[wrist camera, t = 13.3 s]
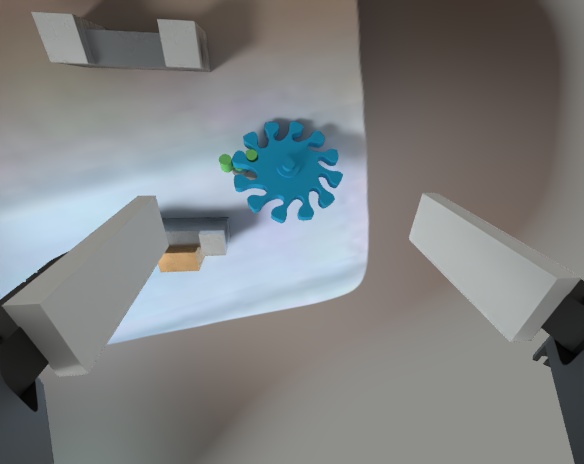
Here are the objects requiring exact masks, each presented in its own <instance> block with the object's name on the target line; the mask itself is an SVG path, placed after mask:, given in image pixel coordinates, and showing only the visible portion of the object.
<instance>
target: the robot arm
mask: <svg viewBox="0 0 584 464" xmlns="http://www.w3.org/2000/svg"><path fill="white" fill-rule="evenodd" d="M409 240H410V241H411V242H412V243H413V244H415V246H416V247H417V248H418V249H419V250H420V251H421V252H422V253H423V254H424V255H425V256H426V257H427V258H428V259H429V260H430V261H431V262H432V263H433V264H434V265H435V266H436V267H437V268H438V269H439V270H440V271H441V272H442V273H443V274H444V275H445V276H446V277H447V278H448V279H449V280H450V281H451V282H452V283H453V284H454V285H455V287H457V289H459V291H460V292H462V294H463V295H464V296H465V297H466V298H468V300H469V301H470V302H471V303H472V304H473V305H474V306H475V307H476V308H477V309H478V310H479V311H480V312H481V313H482V314H483V315H484V316H485V317H486V318H487V319H488V320H489V321H490V322H491V323H492V324H493V325H494V326H495V327H496V328H497V329H498V330H499V331H500V332H501V333H502V334H503V335H504V336H505V337H506V338H507V339H508V340H509V341H510V342H520V341H531V340H532V339H533V338H534V336H535V335H536V334H537V333H538V331H539V330H540V329H541V328H542V329H544V330H545V331H546V332H547V333H548V334H550V336H549V337H548V339H547V340H546V341H545V342H544V343H543V344H542V346H541V347H540V348H539V349H538V350H537V352H536V353H535V354H534V355H533V360H535V361H538V360H539V359H540V357H541V356H547V357H548V359H547V360H546V361H545V362H544V363H543V364H544V365H546V366H549V367H551V371H552V375H553V379H554V383H555V387H556V391H557V395H558V398H559V403H560V407H561V411H562V415H563V419H564V423H565V427H566V431H567V434H568V439H569V442H570V446H571V450H572V454H573V458H574V462H575V464H584V281H583V280H581V278H582V277H580V276H579V275H577V274H575V273H573V272H572V271H570V270H568V269H567V268H565V267H563V266H561V265H560V264H558V263H556V262H555V261H553V260H551V259H549V258H548V257H546V256H544V255H542V254H541V253H539V252H537V251H536V250H534V249H532V248H530V247H529V246H527V245H525V244H524V243H522V242H520V241H518V240H517V239H515V238H513V237H512V236H510V235H508V234H506V233H505V232H503V231H501V230H499V229H498V228H496V227H494V226H493V225H491V224H489V223H487V222H486V221H484V220H482V219H481V218H479V217H477V216H475V215H473V214H472V213H470V212H469V211H467V210H465V209H463V208H462V207H460V206H458V205H456V204H455V203H453V202H451V201H450V200H448V199H446V198H445V197H443V196H441V195H439V194H438V193H423V194H422V197H421V201H420V204H419V207H418V210H417V213H416V217H415V220H414V223H413V226H412V229H411V233H410V236H409ZM168 247H169V244H168V240H167V236H166V233H165V229H164V225H163V222H162V218H161V214H160V211H159V207H158V203H157V200H156V196H137V197H136V198H135V199H134V200H132V201H131V202H130V203H129V204H127V205H126V206H125V207H124V208H122V209H121V210H120V211H119V212H117V213H116V214H115V215H114V216H112V217H111V218H110V219H109V220H108V221H106V222H105V223H104V224H103V225H101V226H100V227H99V228H98V229H96V230H95V231H94V232H93V233H91V234H90V235H89V236H88V237H86V238H85V239H84V240H83V241H81V242H80V243H79V244H78V245H76V246H75V247H74V248H73V249H72V250H70V251H68V252H66V253H64V254H62V255H60V256H59V257H57V258H55V259H53V260H51V261H49V262H48V263H47V264H46V265H44V266H43V267H42V268H40V269H39V270H38V272H37V273H34V274H33V275H31V276H30V277H29V278H28V279H26V282H23V283H21V284H20V285H19V286H17V287H16V288H15V289H14V290H12V291H11V292H10V293H8V294H7V295H6V296H5V297H3V298H2V299H1V300H0V464H54V460H53V453H52V445H51V437H50V430H49V422H48V415H47V408H46V400H45V393H44V385H43V383H42V382H41V380H40V379H39V378H38V376H39V374H40V373H41V372H42V371H43V369H44V368H45V367H46V366H47V364H49V365H50V367H51V368H52V369H53V370H54V372H55V373H56V374H57V375H58V376H70V375H82V374H88V373H89V371H90V370H91V368H92V367H93V365H94V363H95V362H96V360H97V359H98V357H99V356H100V354H101V352H102V351H103V349H104V348H105V346H106V345H107V343H108V341H109V340H110V338H111V337H112V335H113V334H114V332H115V330H116V329H117V327H118V326H119V324H120V322H121V321H122V319H123V318H124V316H125V315H126V313H127V311H128V310H129V308H130V307H131V305H132V303H133V302H134V300H135V299H136V297H137V296H138V294H139V292H140V291H141V289H142V288H143V286H144V285H145V283H146V281H147V280H148V278H149V277H150V275H151V273H152V272H153V270H154V269H155V267H156V266H157V264H158V262H159V261H160V259H161V258H162V256H163V254H164V253H165V251H166V250H167V248H168Z"/></svg>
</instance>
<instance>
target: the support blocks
mask: <svg viewBox="0 0 584 464" xmlns="http://www.w3.org/2000/svg"><path fill="white" fill-rule="evenodd" d="M31 13H32V16H33V18H34V21H35V23H36V26H37V28H38V31H39V34H40V36H41V39H42V41H43V44H44V47H45V49H46V52H47V54H48V57H49V59H50V62H55V63H61V64H68V65H75V66H82V67H97V68H123V69H150V70H177V71H203V72H211V69H210V60H209V52H208V43H207V35H206V32H205V31H204V30H203V29H202V28H201V27H200V26H199V25H198V24H197V23H196V22H195V21H183V20H166V19H157V22H158V27H159V32H160V33H151V32H131V31H112V30H106V28H105V27H102V26H100V25H97V24H95V23H92V22H90V21H88V20H85V19H83V18H80V17H78V16H75V15H73V14H60V13H42V12H31ZM162 222H163V225H164V229H165V233H166V236H167V240H168V244H169V247H168V248H167V250H166V251H165V253H164V254H163V256H162V258H161V259H160V261H159V262H158V265H159V268H160V272H178V271H199V270H200V267H201V265H202V262H203V259H204V257H205V256H215V255H226V252H227V248H228V244H229V240H230V230H229V221H228V217H227V218H172V219H162Z"/></svg>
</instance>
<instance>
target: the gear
mask: <svg viewBox="0 0 584 464" xmlns="http://www.w3.org/2000/svg"><path fill="white" fill-rule="evenodd" d="M278 130H279V125H278V123H274V122H269V123H265V134H266V136H267V138H268V140H269V142H268V146H267V147H266V148H260V147H258V136H257V134H256V133H255V132H251V133H248V134H247V135H245V136H243V139H244V145H245V146H246V147H247V148H249V149H250V150H248V151H246V155H245V153H244V152H242V151H237V152H236V153H235V154H234V156H233V158H232V161H231V157H230V156H229V155H227V154H223V155H221V156H220V157H219V162H220V165H221V168H222V170H223V171H224V172H230V171H232V172H233V174H234V175H235V177H234V184H235V189H236V191H238V192H243V191H245V190H247V189H251V188H258V189H263V190H265V191H266V192H267V193H266V195H264V196H258V195H251V196H249V197H248V198H247V201H248V205H249V207H250V208H251V210H252V211H253V212H254V213H256V212H259V211H260V210H261V209H262V207H263V206H264V205H265V204H266V203H267V202H269V201H271V200H274V199H281V200H282V201H283V202H284V204H283V205H281V206H278V207H275V208H274V209H273V210H272V212H271V218H272V219H273V220H275V221H277V222H280V223H284V221H285V220H286V216H287V208H288V206H289V205H290V204H291V202H292V201H293V200H295V199H299V200H301V201H302V203H303V205H302V206H301V208H300V209H299V211H298V215H297V216H298V219H299V220H311V219H312V217H313V215H314V211H313V209H312V207H311V206H310V203H309V192H311V191H315V192H317V193H318V195H319V199H318V204H319V206H320V207H321V208H326V207H328V206H329V205H330V204H331V203H332V202H333V201H334V200H335V198H334V196H333V194H331V193H330V192H328V191H326V190H325V189H324V188H323V187H322V185H321V183H320V181H319V179H318V178H319V177H324V178H325V179H326V180H327V182H328V184H329V186H330V187H332V188H336V187H337V186H338V184H339V183H340V181H341V179H342V176H343V174H342V173H341V172H338V171H330V170H327V169H325V168H324V167H322V166H321V165H320V164H319V163H318V161H323V162H325V163H326V164H327V165H329V166H334V165H336V163H337V161H338V153H337V150H336V149H330V150H328V151H325V152H316V151H311V150H310V149H309V148H308V147H316V148H319V147H321V146H322V145H323V143H324V140H325V138H324V136H323V135H322V134H321V133H320V132H319V131H314V132H313V133H312V135H311V136H310V137H309V138H308V139H306V140H304V141H300V142H295V141H293V139H294V138H297V137H300V136H301V134H302V130H303V125H301V124H300V123H298V122H295V121H292V122H291V123H290V125H289V133H288V135H287V136H286V137H285V138H284V139H283V140H281V141H277V140H275V139H274V138H275V137H276V136H277V135H278ZM257 159H258V160H257Z"/></svg>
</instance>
